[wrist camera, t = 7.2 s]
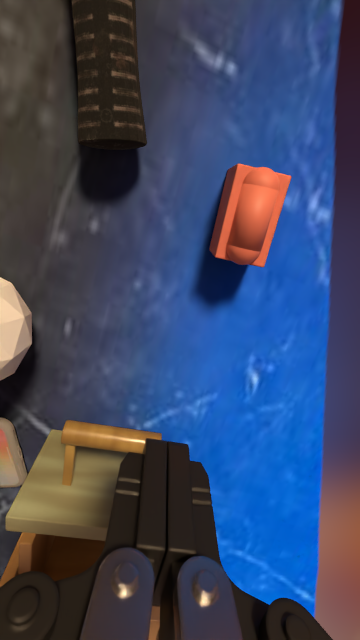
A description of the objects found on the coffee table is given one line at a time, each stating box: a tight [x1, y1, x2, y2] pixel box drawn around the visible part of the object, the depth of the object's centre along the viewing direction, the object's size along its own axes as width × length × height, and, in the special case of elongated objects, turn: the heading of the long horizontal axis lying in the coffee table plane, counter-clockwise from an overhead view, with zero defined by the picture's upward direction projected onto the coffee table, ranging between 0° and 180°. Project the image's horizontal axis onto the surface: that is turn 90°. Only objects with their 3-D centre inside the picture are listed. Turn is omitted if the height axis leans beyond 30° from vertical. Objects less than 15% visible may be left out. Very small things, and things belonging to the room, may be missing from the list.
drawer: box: [6, 420, 162, 581], centre depth 22 cm, size 15×10×7 cm
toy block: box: [209, 164, 291, 267], centre depth 18 cm, size 3×5×4 cm, turn 168°
